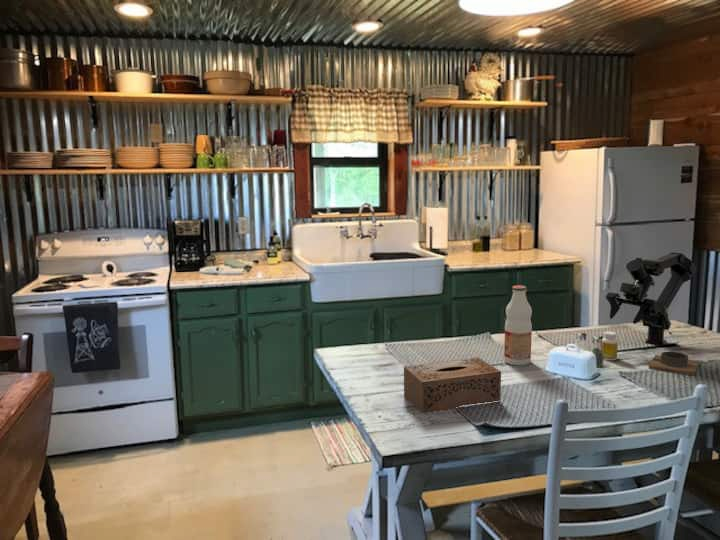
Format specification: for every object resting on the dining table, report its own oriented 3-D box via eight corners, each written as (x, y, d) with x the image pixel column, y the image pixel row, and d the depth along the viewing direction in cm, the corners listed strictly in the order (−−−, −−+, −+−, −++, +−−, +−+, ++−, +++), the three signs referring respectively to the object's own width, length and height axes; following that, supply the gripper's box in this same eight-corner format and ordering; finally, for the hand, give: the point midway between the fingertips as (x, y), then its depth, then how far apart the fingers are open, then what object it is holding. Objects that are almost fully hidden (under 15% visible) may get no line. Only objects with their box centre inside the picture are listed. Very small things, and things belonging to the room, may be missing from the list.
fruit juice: (520, 368, 211) (522, 290, 206) (498, 361, 218) (500, 286, 213) (536, 362, 217) (538, 286, 212) (514, 356, 224) (516, 282, 219)
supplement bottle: (614, 361, 216) (616, 335, 214) (599, 359, 219) (600, 333, 217) (618, 357, 220) (620, 332, 218) (603, 355, 223) (604, 330, 221)
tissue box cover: (477, 386, 195) (478, 357, 193) (500, 402, 182) (501, 371, 180) (404, 396, 188) (403, 366, 186) (421, 414, 174) (421, 382, 172)
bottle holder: (655, 357, 220) (656, 346, 219) (698, 363, 212) (699, 352, 211) (648, 368, 208) (649, 357, 208) (694, 375, 200) (695, 364, 200)
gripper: (609, 271, 229) (591, 303, 224) (657, 278, 214) (638, 313, 209) (620, 288, 235) (602, 320, 230) (667, 296, 220) (649, 330, 215)
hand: (621, 320), depth 221 cm, fingers open, 9 cm apart
